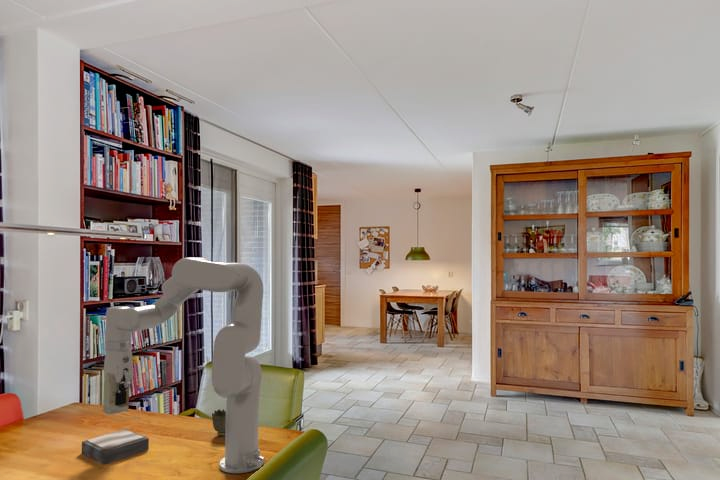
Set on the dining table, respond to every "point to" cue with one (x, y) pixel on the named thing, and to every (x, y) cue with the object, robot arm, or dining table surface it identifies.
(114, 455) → the plinth
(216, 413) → the cup
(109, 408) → the skincare box
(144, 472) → the dining table surface
